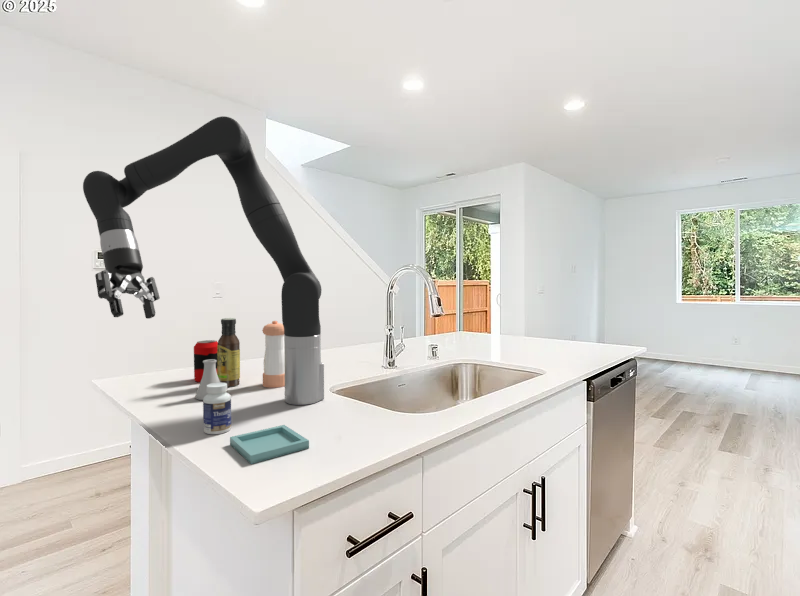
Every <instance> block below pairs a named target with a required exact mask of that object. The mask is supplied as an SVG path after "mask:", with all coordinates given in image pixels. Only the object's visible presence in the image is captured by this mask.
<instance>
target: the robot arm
mask: <svg viewBox="0 0 800 596" xmlns="http://www.w3.org/2000/svg"><path fill="white" fill-rule="evenodd" d="M212 156H213V157H214V156H218V157H219V158H220V160H221V162H222V163H223V164H224V166H225V167H226V169H227V171H228V173H229V174H230V176H231V178H232V180H233V181H234V183H235V186H236V189H237V194H238V197H239V201H240V205H241V208H242V211H243V213H244V215H245V218H246V220H247V222H248V224H249V226H250V228H251V230H252V231H253V233H254V235H255V237H256V238H257V239H258V241H259V243H260V244H261V245H262V246H263V248H264V249H265V250H266V252H267V253H268V254H269V255H270V257H271V258H272V260H273V261H274V263H275V265H276V266H277V268H278V270H279V273H280V275H281V278H282V280H283V283H282V286H281V296H280V297H281V321H282V324H283V326H284V358H285V386H284V402H285V403H286V404H289V405H295V406H296V405H297V406H300V405H301V406H305V405H311V404H315V403H318V402H320V401H323V400H325V364H324V363H323V362H322V361H321V360H322V358H321V357H322V356H321V355H322V353H321V349H322V348H321V347H322V346H321V344H322V343H321V342H322V341H321V336H322V335H321V334H322V333H321V332H322V331H321V329H322V328H321V321H320V299H321V295H322V285H321V283H320V281H319V279H318V278H317V276H316V275H315V273H314V271H313V270H312V269H311V267H310V265H309V263H308V262H307V260H306V258H305V256H304V255H303V253H302V251H301V248H300V246H299V243H298V240H297V238H296V236H295V233H294V231H293V229H292V226H291V223H290V221H289V219H288V217H287V214H286V213H285V211H284V209H283V206H282V205H281V202H280V200H279V199H278V197H277V195H276V194H275V192H274V190H273V189H272V187H271V185H270V184H269V182H268V181H267V180H266V179H267V178H265V176H264V174H263V172H262V170H261V168H260V166H259V163H258V162H257V158H256V156H255V154H254V150H253V148H252V144H251V143H250V139H249V136H248V134H247V133H246V131H245V130H244V129H243V127H242V126H241V124H240V123H239V122H238V120H237V121H236V120H235V119H234V118H232V117H230V116H218V117H215V118H212V119H211V120H210V121H208V122H206V123H204V124H203V125H202V126H200V127H199V128H197V129H195V130H194V131H193V132H191V133H189V134H188V135H186V136H184V137H183V138H180V139H179V140H178V141H176V142H174V143H172V144H171V145H168V146H166V147H165V148H162V149H161V150H158V151H156V152H154V153H151V154H150V155H147V156H144V157H142V158H140V159H138V160H135V161H132V162H131V163H129V164H127V165H126V166H125V167H124V168H123V169H124V170H123V172H124V175H125V177H124V178H122V179H119V180H118V179H116V177H114V176H113V175H111V174H110V173H107V172H105V171H102V170H95V171H94V170H93V171H91V172H89V173H88V174H87V175H86V176H85V177H84V180H83V182H82V190H83V194H84V197H85V200H86V202H87V204H88V207H89V208H90V211H91V212H92V214H93V216H94V219H95V220H96V224H97V229H98V234H99V240H100V241H99V243H100V249H101V255H102V258H103V259H102V260H103V263H104V264H103V265H104V269H103V270H101V271H99V272H97V273H95V275H94V277H95V282H96V283H95V284H96V289H97V295H98V296H97V297H99V299H104V300H106V301H107V302H108V304H109V309H110V314H111V315H112V317H113V318H119V317H123V316H124V310H123V309H124V308H123V305H122V300H121V295H122V294H129V295H133V296H134V298H136V299H139V300H140V301H141V303H142V307H143V312H144V317H145V319H152V318H154V317H156V310H155V309H156V308H155V305H154V302H156V301H158V300H160V295H159V290H158V286H157V283H156V280H155V278H154V277H153V276H150V277H144V276H143V273H142V272H143V268H144V266H143V261H142V257H141V253H140V247H139V243H138V241H137V238H136V235H135V232H134V227H133V222H132V219H131V217H130V214H129V213H128V212H127V211H126V210H125V209H124V208H126V207H128V206H130V205H131V204H132V203H134V202H135V201H137V200H138V199H139V198H140V197H141V196H143V195H144V194H145V193H146V192H147V191H149V190H153V189H154V188H157V187H159V186H162V185H164V184H166V183H168V182H170V181H172V180H173V179H175V178H176V177H178V176H179V175H180V174H181V173H183V172H184V171H185V170H186V169H188V168H189V167H190V166H192V165H193V164H195V163H196V162H197V163H198V161H201V160H203V159H205V158H209V157H212ZM111 284H112V286H111Z"/></svg>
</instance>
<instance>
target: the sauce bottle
mask: <svg viewBox="0 0 800 596" xmlns="http://www.w3.org/2000/svg"><path fill="white" fill-rule="evenodd" d="M220 324H221V335H220V337H219V339H218V340H217V342H218V345H217V375H218V378H219V380H220V382H222V383H227V388H233V387H237V386H239V385H240V378H241V349H240V348H241V347H240V346H241V345H240V343H241V342H240V339H239V338H238V336H237V334H236V333H237V332H236V324H237V320H236V318H235V317H225V318H221V319H220Z"/></svg>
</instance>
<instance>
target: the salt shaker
mask: <svg viewBox="0 0 800 596" xmlns="http://www.w3.org/2000/svg"><path fill="white" fill-rule="evenodd" d="M261 331H262V333H263V335H265V338H264V339H265V345H264V346H265V350H264V356H263V373H262V387H264V388H274V389H275V388H283V387H285V358H284V326H283V323H279V322H278V321H277V320H272V322H271V323H267V324H265V325H264V326H263V327H262V330H261Z"/></svg>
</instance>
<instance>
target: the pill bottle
mask: <svg viewBox="0 0 800 596" xmlns="http://www.w3.org/2000/svg"><path fill="white" fill-rule="evenodd" d="M206 391H207V393H208V394H207V395H206V396H205V397H204V398H203V400H202V401H203V402H202V407H203V408H202V414H203V417H202V420H203V432H204V433H205V434H208V435H219V434H225V433H227V432H229V431H230V430H231V429H232V395H231V394H230V393H229V392H227V391H228V387H227V383H222V382H218V383H211V384H208V385H207V390H206Z"/></svg>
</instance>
